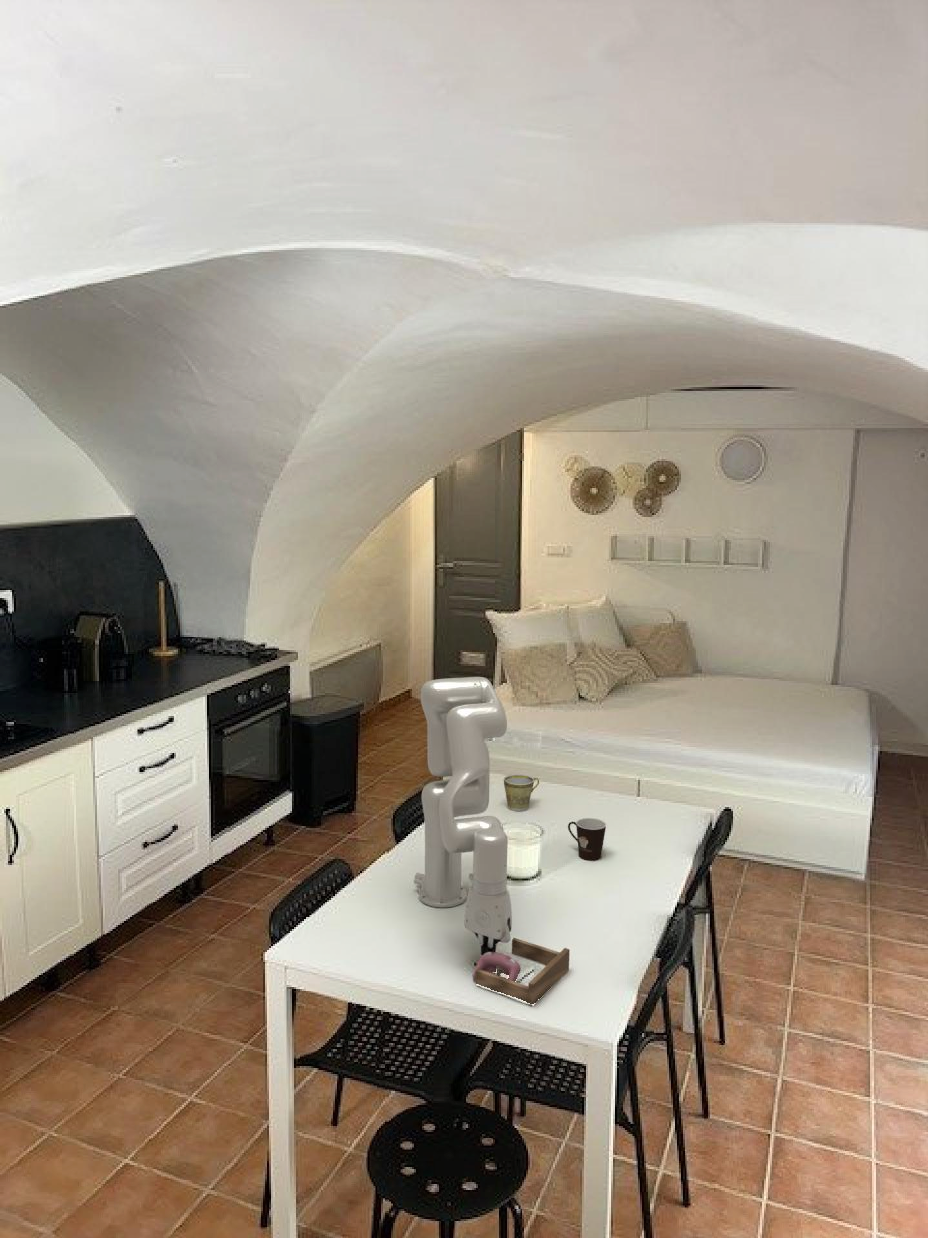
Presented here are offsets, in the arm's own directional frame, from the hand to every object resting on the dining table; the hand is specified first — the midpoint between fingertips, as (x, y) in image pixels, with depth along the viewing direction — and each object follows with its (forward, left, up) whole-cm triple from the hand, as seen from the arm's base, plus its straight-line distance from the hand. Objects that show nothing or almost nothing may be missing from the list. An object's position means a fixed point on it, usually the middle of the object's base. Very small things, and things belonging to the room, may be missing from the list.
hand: (488, 960), depth 207 cm
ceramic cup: (-41, +90, -2) cm, 99 cm away
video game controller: (+5, -5, -2) cm, 7 cm away
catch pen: (+9, 0, -1) cm, 9 cm away
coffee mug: (-7, +68, -2) cm, 68 cm away
